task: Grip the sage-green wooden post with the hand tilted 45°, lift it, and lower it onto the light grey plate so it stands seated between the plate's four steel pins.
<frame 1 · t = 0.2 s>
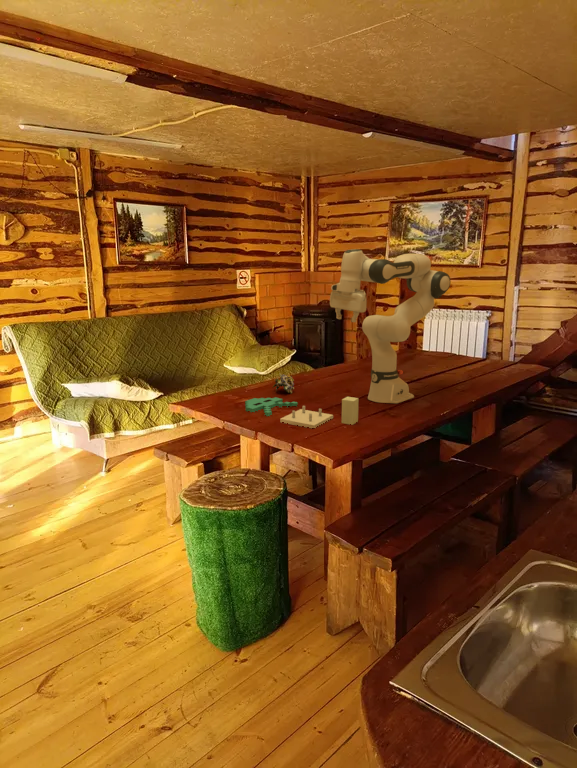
hand: (346, 320, 237), 39 cm above the table, tool pointing down, fingers open, 8 cm apart
alien figure: (266, 408, 248), on the table
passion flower: (283, 392, 273), on the table
pin plate: (307, 420, 229), on the table
sage post: (349, 422, 226), on the table
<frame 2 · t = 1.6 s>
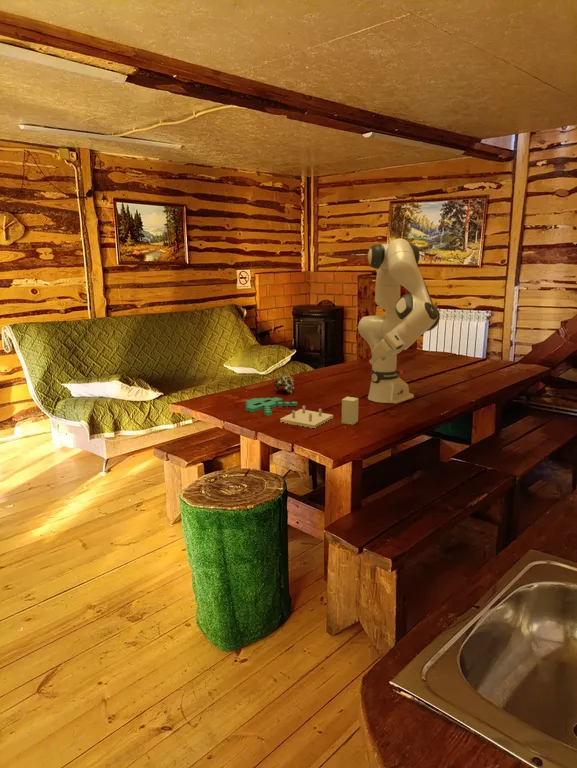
hand: (376, 361, 214), 27 cm above the table, tool tilted 45°, fingers open, 8 cm apart
nothing on the table moved.
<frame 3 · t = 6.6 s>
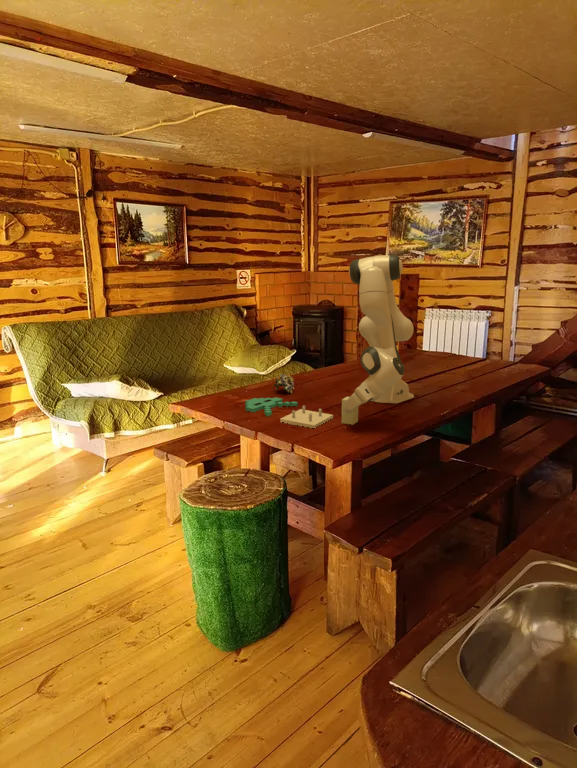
hand: (348, 409, 225), 5 cm above the table, tool tilted 45°, fingers closed on sage post, 5 cm apart
sage post: (349, 422, 226), on the table, touching gripper
everything else where it was.
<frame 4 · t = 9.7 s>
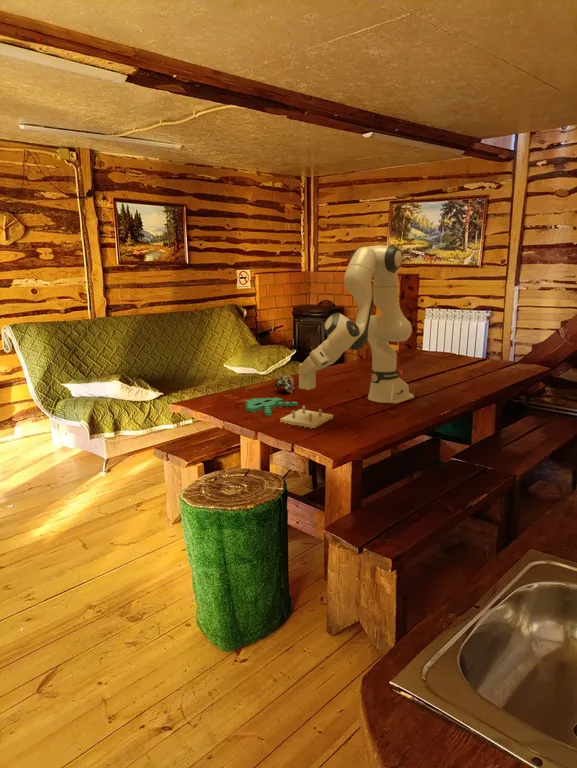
hand: (305, 374, 225), 19 cm above the table, tool tilted 45°, fingers closed on sage post, 5 cm apart
sage post: (307, 387, 226), point 14 cm above the table, touching gripper
everything else where it was.
when the fingers open (8 cm above the table, at t = 12.7 s): sage post drops 1 cm, resting on pin plate.
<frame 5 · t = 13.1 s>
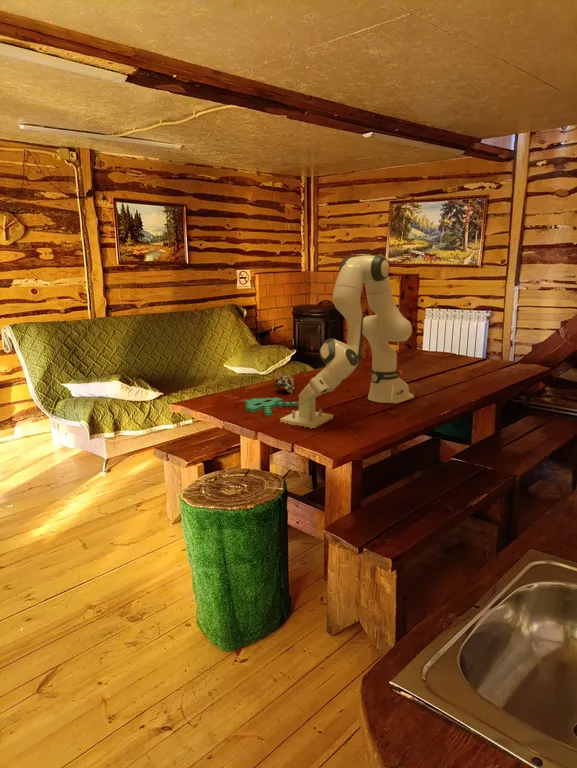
hand: (305, 400, 227), 8 cm above the table, tool tilted 45°, fingers open, 8 cm apart
sage post: (307, 416, 229), point 1 cm above the table, touching pin plate
everything else where it was.
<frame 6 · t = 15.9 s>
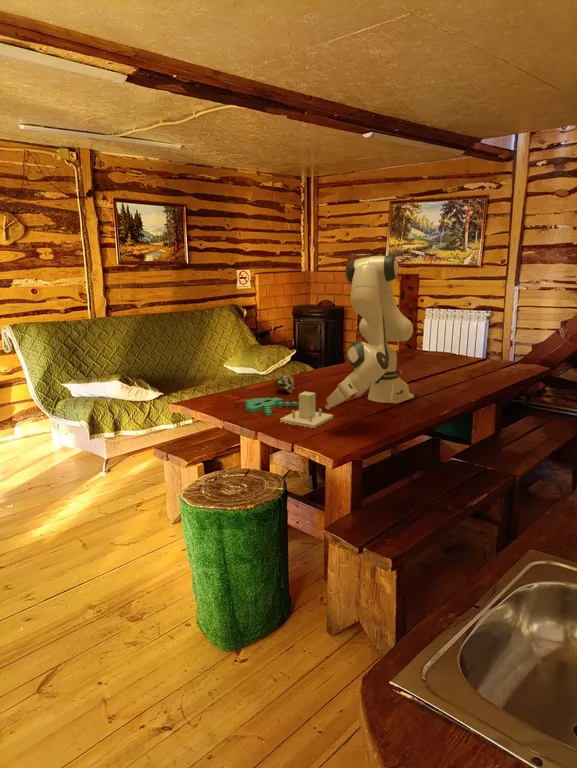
hand: (332, 405, 221), 8 cm above the table, tool tilted 45°, fingers open, 8 cm apart
nothing on the table moved.
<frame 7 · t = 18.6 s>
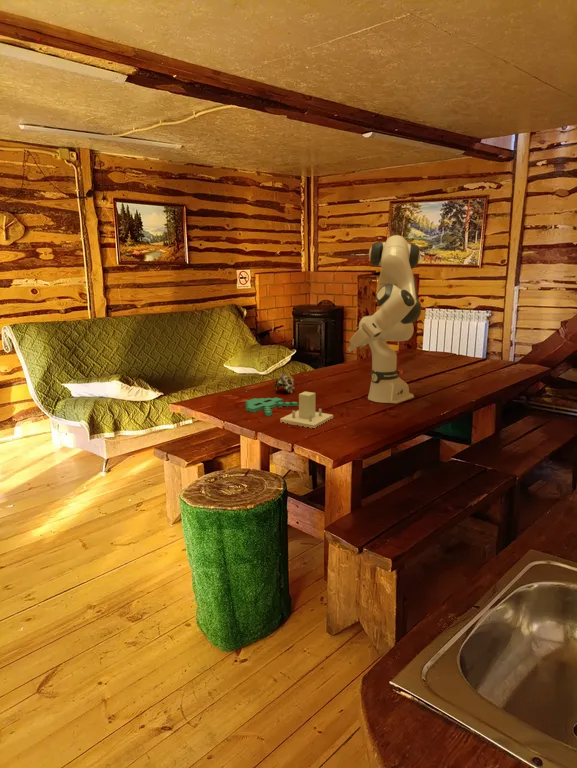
hand: (354, 348, 215), 31 cm above the table, tool tilted 45°, fingers open, 8 cm apart
nothing on the table moved.
at the end: sage post 0.1 cm off-centre on the pin plate, point 1.5 cm above the pin plate's base; sage post tilted 0°; the gripper is holding nothing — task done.
